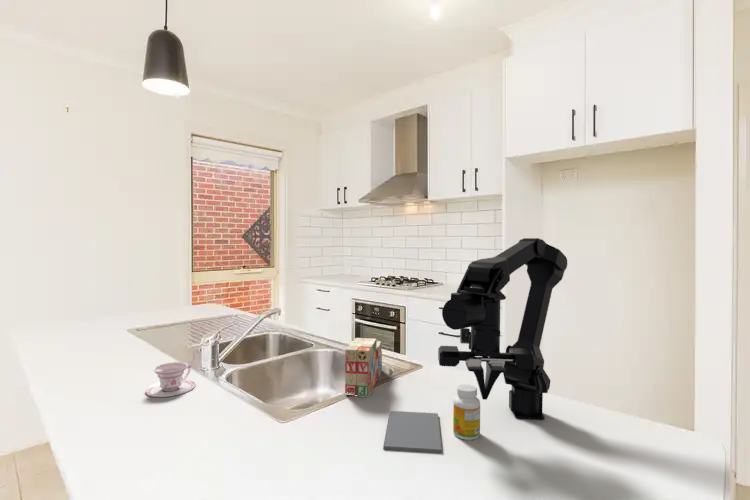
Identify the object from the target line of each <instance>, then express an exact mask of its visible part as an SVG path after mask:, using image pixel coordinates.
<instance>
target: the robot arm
mask: <svg viewBox="0 0 750 500" xmlns="http://www.w3.org/2000/svg"><path fill="white" fill-rule="evenodd" d="M524 265H525V266H527V268H526V273H527V275H528V278H529V281H530V286H529V290H528V295H527V297H526V299H527V300H526V303H525V308H524V312H523V316H522V320H521V325H520V328H519V333H518V337H517V341H516V342H515V343H514V344H513V345H510V344H508V345H507V347H506V348H505V352H501V351H500V350H501V349H500V348H501V347H500V345H501V301H504V300H506V299H507V296H506V295H505V294H504V293H503V292H502V291H501V290H503V289H504V287H506V286H507V284H508V283H509V282H510V281H511V275H512V274H513V273H514V272H516V271H517V270H519V269H520V268H522V267H523V266H524ZM567 267H568V258H567V256H566V255H565V254H564V253H563V252H562V251H561V250H560V249H559V248H557V247H555V246H553V245H550V244H548V243H546V241H545V240H544V239H542V238H538V237H537V238H535V237H533V238H532V237H529V238H528V237H525V238H521V239H519V240H518V242H516V243H515V244H514V245H512V246H511V247H509V248H507V249H505V250H504V251H502V252H499V253H498V254H497V255H495V256H493V257H487V258H480V259H477V260H474V261H473V260H472V262H470V263H468V265H467V269H466V270H465V273H464V274H463V278H462V279H461V280H460V284H459V285H458V287H457V289H456V292H451V293H450V299H449V300H447V301H446V302H445V303H444V305H443V308H442V310H441V316H442V320H443V322H444V323H445V325H446V326H447V327H448V328H449V329H451V330H454V331H455V330H460V334H459V338H460V339H459V341H460V342H459V343H460V344H464V345H465V344H466V345H468V349H469V350H470V351H466V350H465V351H462V350H461V351H460V350H459V349H458V346H457V345H440V346H439V347H438V351H437V359H438V364H439V366H441V367H455V368H456V367H457V366H458V365H459V364H460V362H465V367H466V368H467V370H468V372H472V373H474V376H475V378H476V382H477V386H478V388H479V392H480V395H481V399H482V400H484V401H485V400H486V401H487V400H488V397H489V395H490V393H491V391H492V389H493V387H494V384H495V383H496V381H497V380H498V378H499V376H500V375H501V374H502V375H503V378H504V383H505V384H506V385H510V386H511V389H510V390H509V391H508V408H509V410H510V411H511V412H512V414H513V417H514V418H516V419H528V420H529V419H532V420H545V419H546V416H545V415H544V413H543V404H544V403H543V398H544V397H543V396H544V394H547V393H549V392H548V391H549V390H550V386H551V379H550V377H549V376H548V374H547V372H546V371H545V369H544V368H545V367H544V366H545V359H544V356H543V354H542V351H541V349H540V347H541V341H542V338H543V335H544V334H543V333H544V329H545V323H546V319H547V316H548V311H549V306H550V302H551V298H552V292H553V289H554V288H555V287H556V286H557V285H558V284H559V283H560V282H561V281H562V280H563V277H564V275H565V271H566V269H568V268H567ZM484 362H485V371H484V368H483V366H482V363H484Z"/></svg>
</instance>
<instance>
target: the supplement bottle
mask: <svg viewBox="0 0 750 500" xmlns="http://www.w3.org/2000/svg"><path fill="white" fill-rule="evenodd" d="M477 396H478V388H477V387H476V386H474V385H471V384H465V383H463V384H460V385H458V386H457V387H456V395H455V396H454V399H453V417H452V418H453V419H452V420H453V421H452V422H453V427H452V430H453V435H454V436H455V437H457V438H458V439H461V440H465V441H473V440H477V439H478V438H479V437H480V434H481V401H480V399H479V398H478V397H477Z"/></svg>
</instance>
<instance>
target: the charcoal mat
mask: <svg viewBox="0 0 750 500" xmlns="http://www.w3.org/2000/svg"><path fill="white" fill-rule="evenodd" d="M440 430H441V429H440V421H439V413H438V412H419V411H401V410H400V411H399V410H397V411H396V410H389V413H388V417H387V424H386V429H385V435H384V440H383V445H382V447H383V450H393V451H406V450H407V451H408V452H409V451H410V452H422V451H425V453H441V454H442V452H443V451H442V440H441V432H440ZM407 451H406V452H407Z"/></svg>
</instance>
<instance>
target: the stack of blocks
mask: <svg viewBox="0 0 750 500" xmlns="http://www.w3.org/2000/svg"><path fill="white" fill-rule="evenodd" d="M344 352H345V355H344V356H345V362H344V363H345V364H344V366H345V367H344V372H345V373H344V374H345V383H344V394H345V393H347V392H348V394H349V393H351V394H354V395H358V396H357V397H360V396H369V397H370V395H371V393H372V392H373V390H372V389H374V388H373V386H374V384H375V385H376V383H377V381H378V379H379V377H380V375H381V373H382V370H383V368H382V367H383V366H382V365H383V351H382V340H381V341H380V340H377V338H373V337H371V338H365V337H355V338H354V339H353V341H352V342H351V343H350V344H349V345H348V346H347V347H346V348H345V350H344ZM375 382H376V383H375ZM374 387H375V386H374ZM371 391H372V392H371ZM370 392H371V393H370ZM369 394H370V395H369Z"/></svg>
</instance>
